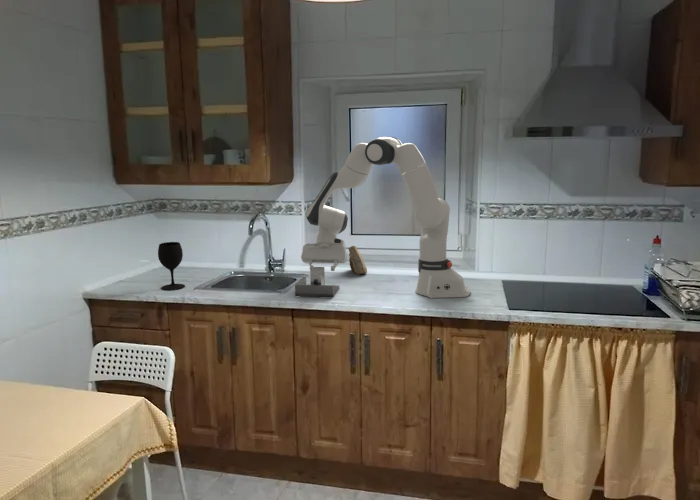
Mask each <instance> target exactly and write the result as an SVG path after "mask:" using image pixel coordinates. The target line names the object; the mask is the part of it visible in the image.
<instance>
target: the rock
mask: <svg viewBox="0 0 700 500" xmlns="http://www.w3.org/2000/svg"><path fill="white" fill-rule="evenodd" d="M348 252H349V254H348V256H349V259H348V262H349V266H350V267H349V268H350V270H351V271H352V272H353V271H354V273H356V274H357V275H362V274H367V273H368V269H367V265H366V264H365V260H364V258H363V255H362V254H361V252H360V251H359V249H358V247H356V246H355V245H351V246H350V247H348Z"/></svg>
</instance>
